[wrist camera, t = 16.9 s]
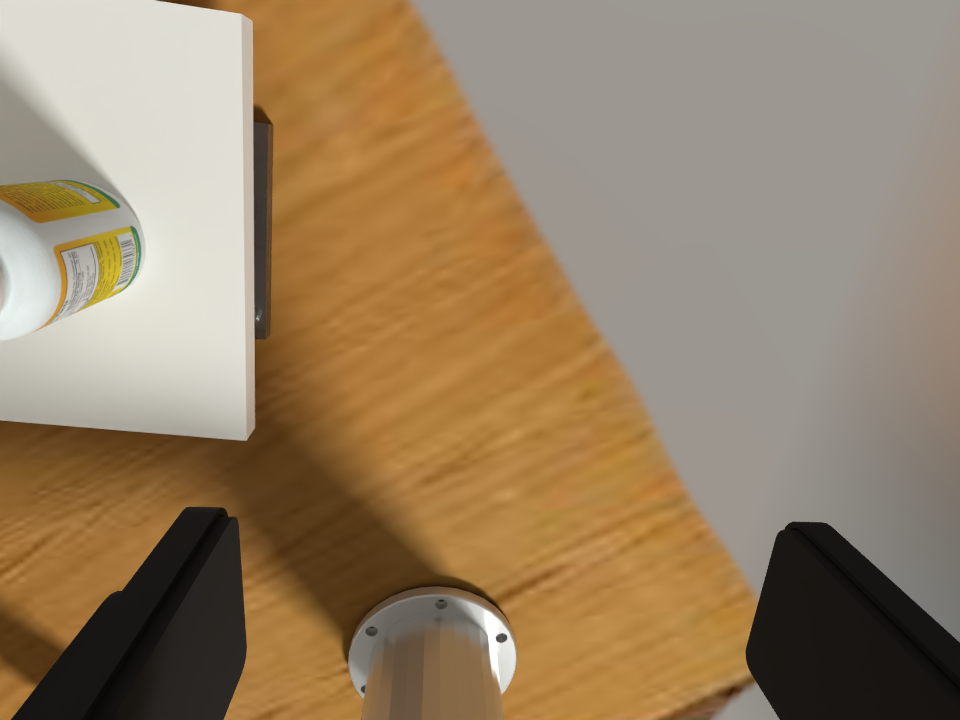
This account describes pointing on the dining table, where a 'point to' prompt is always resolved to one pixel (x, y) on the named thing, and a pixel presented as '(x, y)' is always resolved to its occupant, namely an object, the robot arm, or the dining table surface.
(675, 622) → the dining table surface
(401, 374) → the dining table surface
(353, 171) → the dining table surface
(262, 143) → the tribrach base
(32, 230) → the supplement bottle
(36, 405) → the level board
